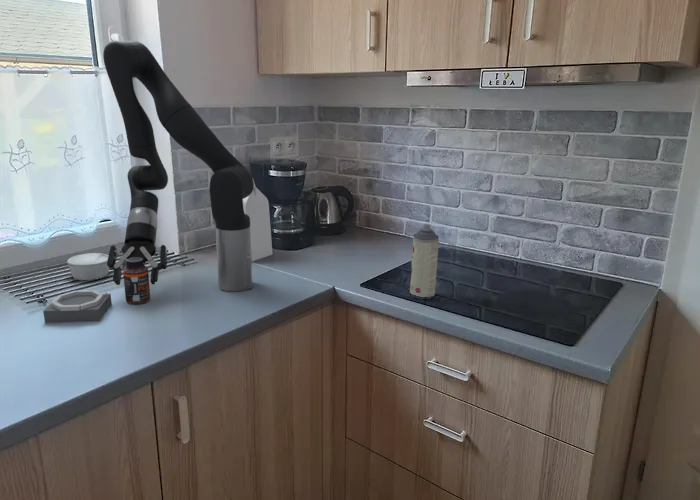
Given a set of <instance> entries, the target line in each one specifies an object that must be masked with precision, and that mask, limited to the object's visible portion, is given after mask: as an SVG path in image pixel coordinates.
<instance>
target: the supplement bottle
mask: <svg viewBox="0 0 700 500" xmlns="http://www.w3.org/2000/svg"><path fill="white" fill-rule="evenodd" d="M126 263H127V264H126V265H127V266H126V267H125V268H124V269H123V270H122V273H123V274H122V275H123V285H124V296H125V301H126V303H127V304H129V305H142V304H146V303H148V302H149V301H150V300H151V289H150V288H151V287H150V277H149V276H150V275H149V269H148V267H147V266H146V265H145V264H144V262H143V258H140V257H133V258H129V259H126Z"/></svg>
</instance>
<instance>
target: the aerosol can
mask: <svg viewBox="0 0 700 500" xmlns="http://www.w3.org/2000/svg"><path fill="white" fill-rule="evenodd" d="M439 245H440V239H439V235H438V234H436V232H435V231H434V230H433V229H432V228H431V224H430V223H423V227H422V228H421V229H420V230H418V231H417V232H415V233H414V234H413V237H412V249H411V250H412V252H411V254H412V255H411V269H410V283H409V294H410V293H411V294H413V295H416V296H420V297H431V296H434V295H436V286H437V285H436V284H437V269H438V259H439V257H438V256H439Z"/></svg>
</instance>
